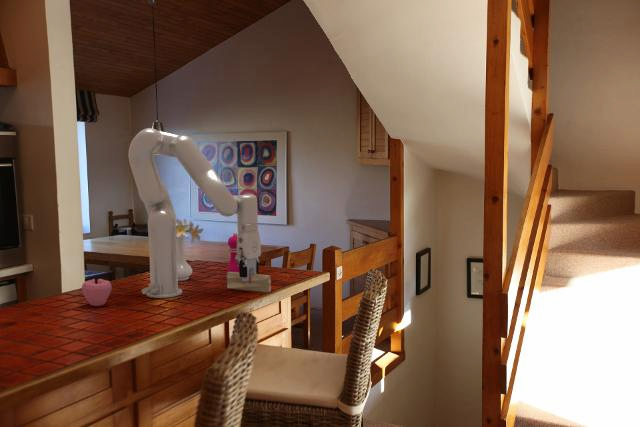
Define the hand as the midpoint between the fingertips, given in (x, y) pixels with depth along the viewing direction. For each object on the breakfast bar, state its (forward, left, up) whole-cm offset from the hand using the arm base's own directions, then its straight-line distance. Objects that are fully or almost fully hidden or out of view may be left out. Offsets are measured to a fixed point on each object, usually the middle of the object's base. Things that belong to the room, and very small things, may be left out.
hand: (249, 274), depth 220 cm
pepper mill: (+11, +13, -6) cm, 18 cm away
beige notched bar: (0, 0, -6) cm, 6 cm away
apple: (-41, +34, -6) cm, 54 cm away
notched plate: (0, 0, -2) cm, 2 cm away
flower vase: (+5, +35, -6) cm, 36 cm away
